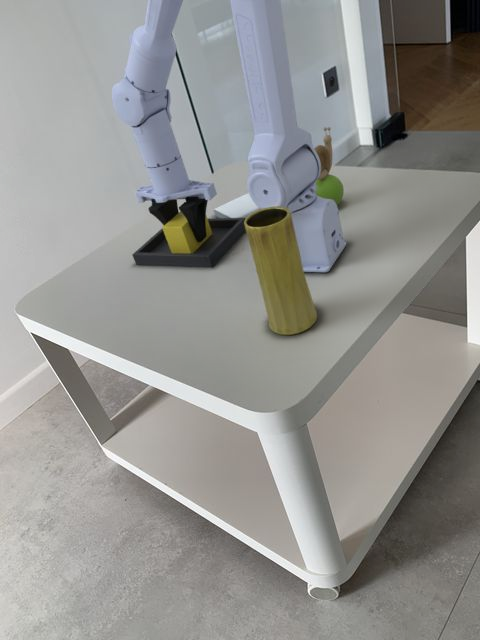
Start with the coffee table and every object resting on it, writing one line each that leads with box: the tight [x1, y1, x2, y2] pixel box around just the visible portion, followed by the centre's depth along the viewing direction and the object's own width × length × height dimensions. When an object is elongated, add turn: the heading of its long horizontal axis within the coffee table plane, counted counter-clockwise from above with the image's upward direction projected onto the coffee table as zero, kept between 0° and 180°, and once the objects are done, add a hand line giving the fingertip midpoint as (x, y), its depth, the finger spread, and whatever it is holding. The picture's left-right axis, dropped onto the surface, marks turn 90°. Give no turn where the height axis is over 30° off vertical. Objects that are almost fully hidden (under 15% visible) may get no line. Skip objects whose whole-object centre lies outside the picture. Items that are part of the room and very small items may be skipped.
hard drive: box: [212, 192, 260, 218], centre depth 100 cm, size 2×8×12 cm
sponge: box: [161, 210, 212, 253], centre depth 92 cm, size 4×7×5 cm, turn 153°
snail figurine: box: [314, 126, 345, 205], centre depth 90 cm, size 5×6×12 cm
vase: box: [244, 206, 318, 336], centre depth 65 cm, size 6×6×14 cm
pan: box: [131, 217, 246, 268], centre depth 93 cm, size 16×13×2 cm
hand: (191, 239), depth 93 cm, fingers closed on sponge, 4 cm apart
